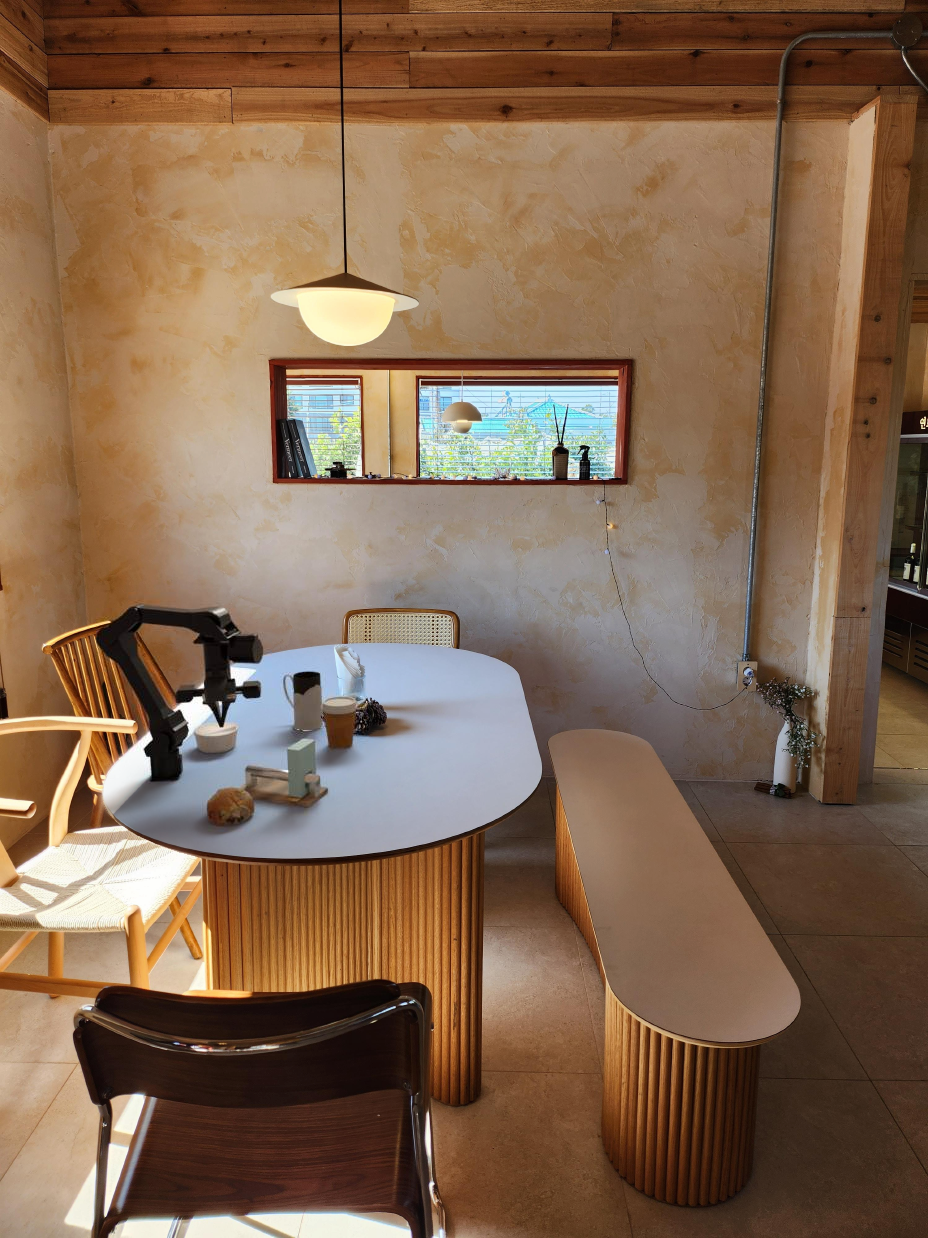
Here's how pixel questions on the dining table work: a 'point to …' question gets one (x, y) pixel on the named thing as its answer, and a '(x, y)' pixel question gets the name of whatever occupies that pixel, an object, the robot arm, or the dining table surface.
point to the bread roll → (230, 806)
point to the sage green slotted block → (300, 766)
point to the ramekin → (216, 737)
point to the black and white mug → (306, 700)
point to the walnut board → (279, 792)
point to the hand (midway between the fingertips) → (221, 727)
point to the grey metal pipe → (280, 778)
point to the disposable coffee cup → (339, 721)
